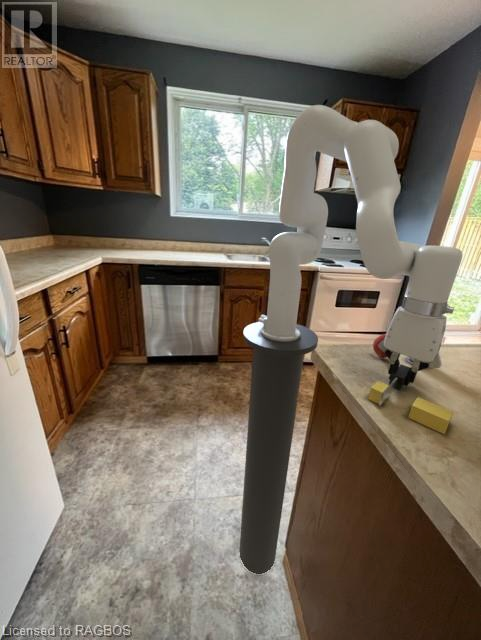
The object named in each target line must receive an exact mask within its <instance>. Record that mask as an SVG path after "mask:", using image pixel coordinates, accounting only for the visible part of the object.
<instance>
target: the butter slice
mask: <svg viewBox="0 0 481 640" xmlns="http://www.w3.org/2000/svg"><path fill="white" fill-rule="evenodd" d="M388 386H389V384H386V383H385V382H382V381H380V380H377V381H376V383H374V384H373V385H372V386H371V387H370V390H369V395H368V398H367V399H368V400H369V401H372V402H373V403H376V404H377V405H379V402H380V399H381V396H382V393H383V391H384V390H385V389H386V388H387V387H388Z"/></svg>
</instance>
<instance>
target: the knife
mask: <svg viewBox="0 0 481 640" xmlns="http://www.w3.org/2000/svg"><path fill="white" fill-rule="evenodd" d="M410 368H411V367H410V366H408V365H405V364H401V363H400V364H399V367H398V368H397V369H396V370H395V371H394V372H393V373H392V375H391V378H390V379H389V382H388V385H389V386H388V387H387V388H386V389H385V390H384V391H383V393H382V396H381V399H380V402H379V404H378V406H382V405H384V402H385V401H387V399H388V398H389V397H390V396H391V394H392V393H393V392H394V391H395V390H397V391H399V392H401V391H402V390H403V389H404V387H406V386H405V385H404V383H405V380H406V377H407V373H408V370H409V369H410Z"/></svg>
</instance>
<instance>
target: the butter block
mask: <svg viewBox="0 0 481 640" xmlns="http://www.w3.org/2000/svg"><path fill="white" fill-rule="evenodd" d="M453 414H454V411H453V410H450V409H449V408H445V407H444V406H440V405H439V404H436V403H433V402H431V401H428V400H426V399H424V398H422V397H419V396H417V398H416V399H415V400H414V401H413V403H412V405H411V408H410V411H409V414H408V419H410V420H412V421H414V422H417V423H419V424H421V425H423V426H424V427H427V428H429V429H432V430H433V431H436V432H438V433H440V434H443V435H445V434H446V432H447V429H448V427H449V424H450V422H451V420H452V416H453Z"/></svg>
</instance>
